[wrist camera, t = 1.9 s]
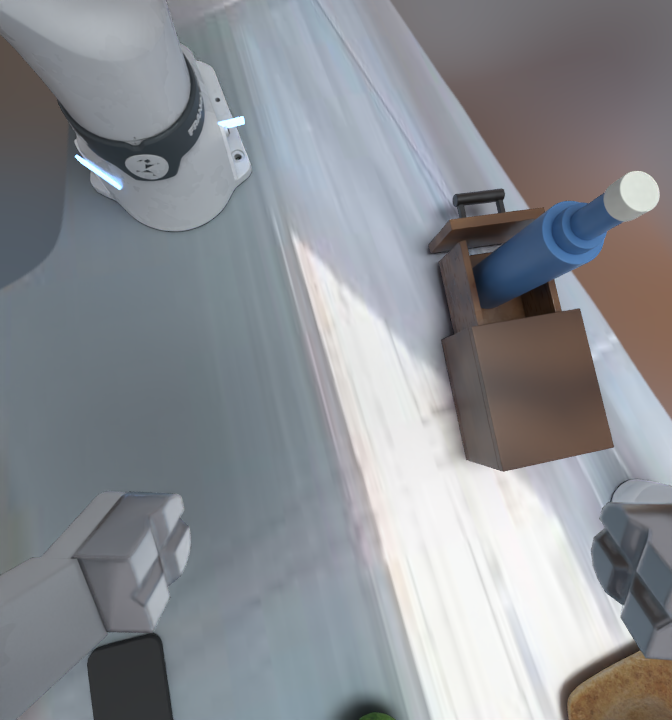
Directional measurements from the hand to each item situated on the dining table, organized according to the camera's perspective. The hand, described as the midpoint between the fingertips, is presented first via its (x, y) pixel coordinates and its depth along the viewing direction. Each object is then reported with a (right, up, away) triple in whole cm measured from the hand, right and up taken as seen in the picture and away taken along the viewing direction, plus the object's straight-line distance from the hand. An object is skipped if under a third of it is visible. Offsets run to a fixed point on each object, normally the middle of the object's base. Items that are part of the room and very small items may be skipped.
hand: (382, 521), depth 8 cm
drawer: (+17, +14, +42) cm, 48 cm away
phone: (-22, -34, +33) cm, 53 cm away
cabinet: (+20, -1, +42) cm, 46 cm away
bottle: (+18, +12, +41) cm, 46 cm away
